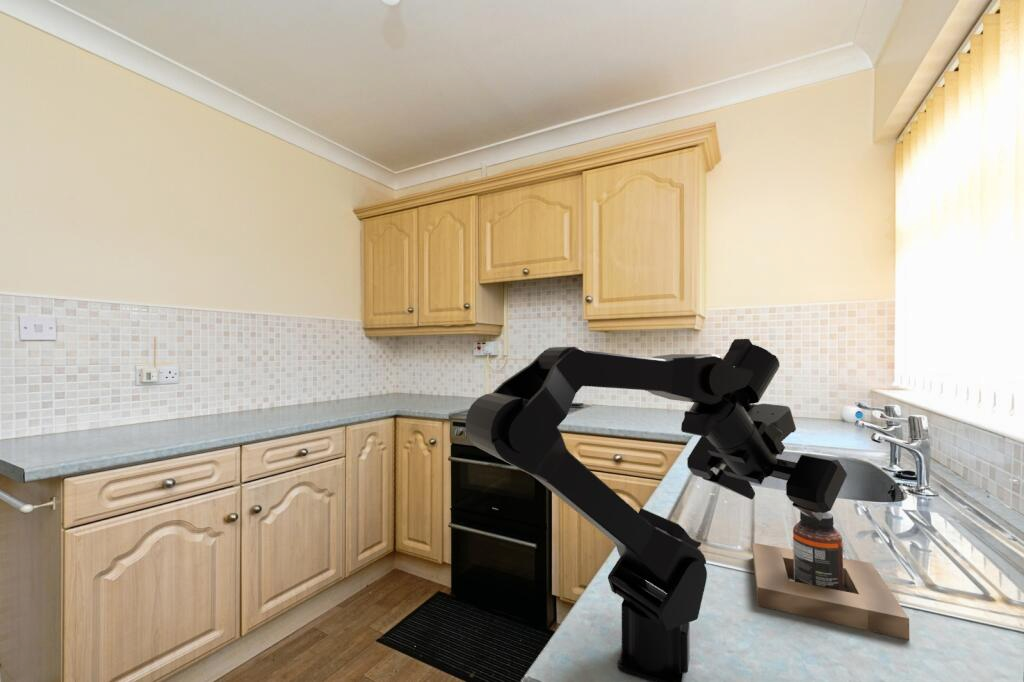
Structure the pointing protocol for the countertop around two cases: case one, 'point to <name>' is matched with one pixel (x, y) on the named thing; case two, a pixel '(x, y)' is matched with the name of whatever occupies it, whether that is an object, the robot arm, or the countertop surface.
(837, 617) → the square wooden frame
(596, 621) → the countertop surface
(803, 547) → the supplement bottle
